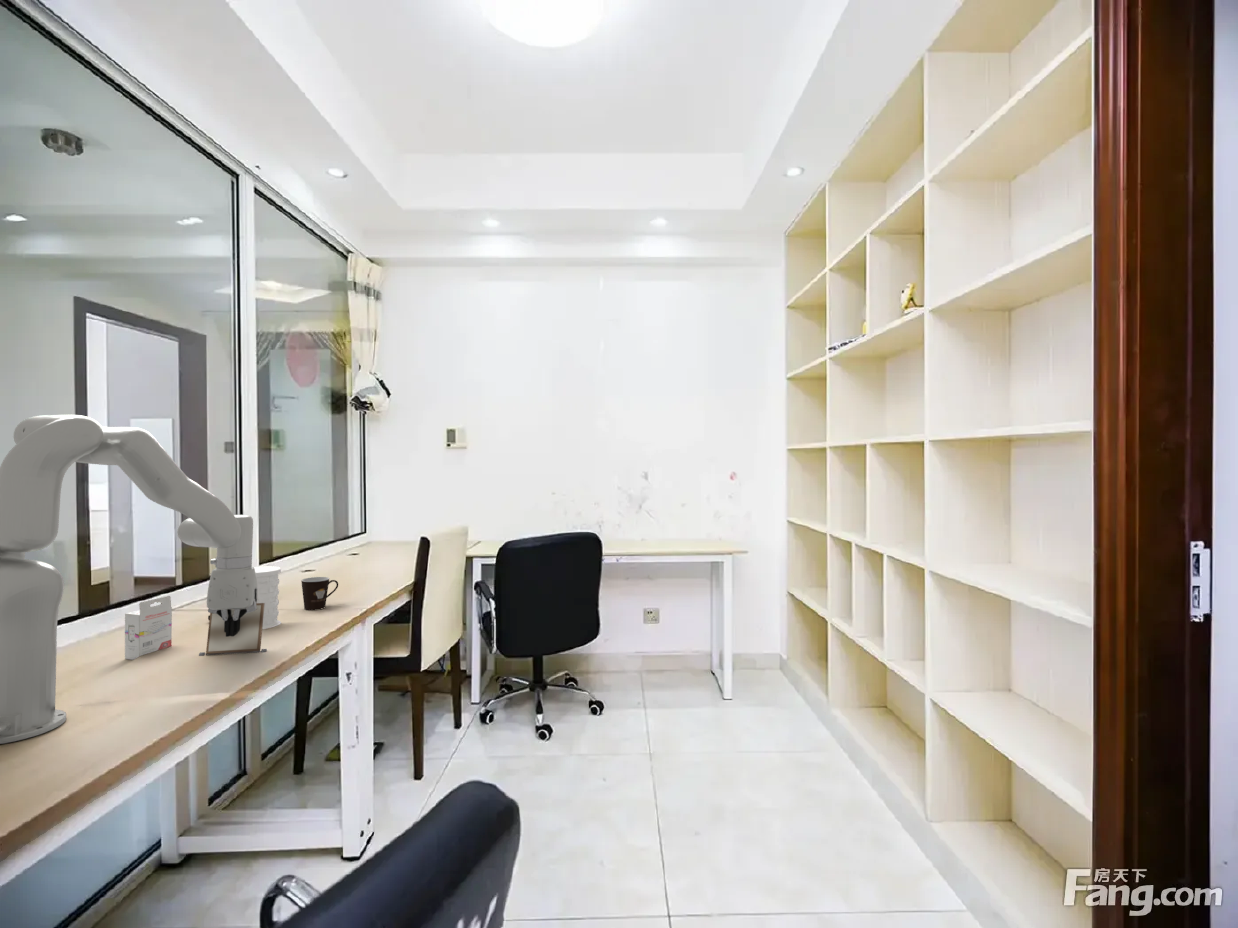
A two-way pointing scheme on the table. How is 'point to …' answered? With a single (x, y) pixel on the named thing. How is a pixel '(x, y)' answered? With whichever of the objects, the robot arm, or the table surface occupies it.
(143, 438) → the robot arm
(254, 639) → the flap
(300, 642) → the table surface
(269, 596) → the decorative container
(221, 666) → the table surface
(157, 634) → the ink cartridge box
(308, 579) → the coffee mug
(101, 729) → the table surface
